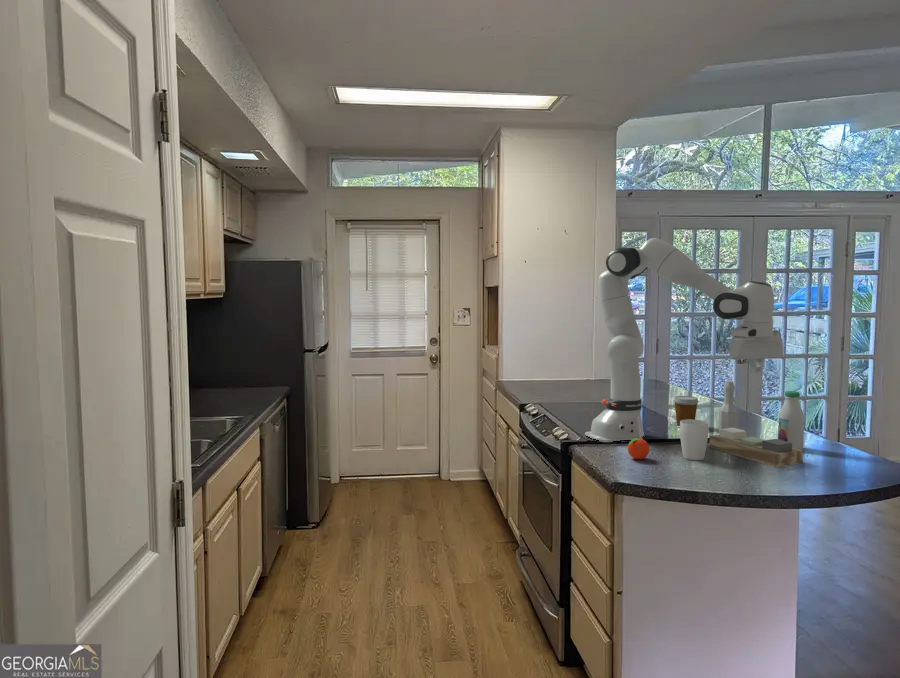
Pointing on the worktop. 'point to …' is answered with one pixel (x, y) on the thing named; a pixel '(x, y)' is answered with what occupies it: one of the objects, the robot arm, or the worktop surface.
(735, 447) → the oak key console
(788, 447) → the charcoal key
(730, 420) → the faceted bottle
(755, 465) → the worktop surface
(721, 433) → the off-white key
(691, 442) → the cup
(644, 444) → the clementine
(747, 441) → the sage green key
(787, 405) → the milk bottle
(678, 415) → the disposable coffee cup
